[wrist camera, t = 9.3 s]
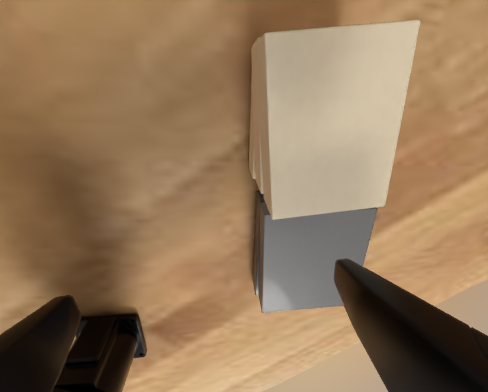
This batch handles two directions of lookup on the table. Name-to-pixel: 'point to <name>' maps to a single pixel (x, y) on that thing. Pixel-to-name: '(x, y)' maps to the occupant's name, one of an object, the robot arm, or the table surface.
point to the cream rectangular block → (331, 114)
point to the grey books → (305, 256)
